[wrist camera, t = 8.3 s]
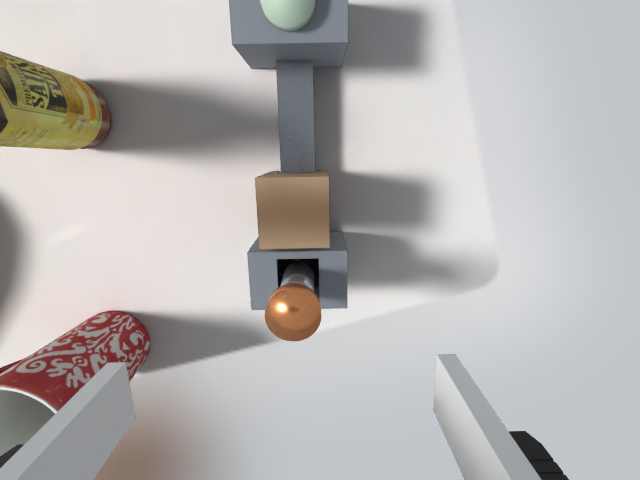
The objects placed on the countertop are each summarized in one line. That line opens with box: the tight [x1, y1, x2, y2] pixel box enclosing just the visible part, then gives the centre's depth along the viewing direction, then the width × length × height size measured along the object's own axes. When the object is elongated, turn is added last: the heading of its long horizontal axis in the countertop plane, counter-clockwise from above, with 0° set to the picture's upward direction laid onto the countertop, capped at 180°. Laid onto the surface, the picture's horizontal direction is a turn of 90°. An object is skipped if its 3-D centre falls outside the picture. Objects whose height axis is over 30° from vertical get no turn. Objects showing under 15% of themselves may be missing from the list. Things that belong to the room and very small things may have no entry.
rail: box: [276, 60, 315, 172], centre depth 31 cm, size 15×3×2 cm, turn 1°
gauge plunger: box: [265, 262, 321, 341], centre depth 25 cm, size 4×4×7 cm
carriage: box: [255, 170, 330, 249], centre depth 28 cm, size 5×5×9 cm
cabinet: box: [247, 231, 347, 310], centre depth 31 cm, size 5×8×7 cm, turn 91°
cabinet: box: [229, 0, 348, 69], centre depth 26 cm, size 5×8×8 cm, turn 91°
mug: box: [0, 311, 150, 456], centre depth 30 cm, size 13×9×14 cm
